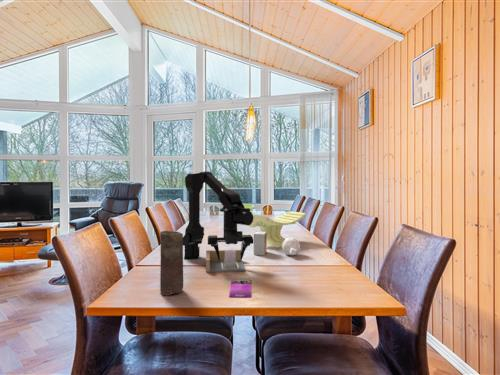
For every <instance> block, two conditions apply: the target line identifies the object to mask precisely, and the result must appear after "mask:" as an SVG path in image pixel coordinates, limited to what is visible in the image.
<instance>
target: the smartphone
mask: <svg viewBox="0 0 500 375" xmlns="http://www.w3.org/2000/svg"><path fill="white" fill-rule="evenodd" d="M230 281H231V282H230V289H229V295H228V298H235V299H236V298H238V299H239V298H242V299H243V298H246V299H247V298H248V299H249V298H251V299H252V295H253V294H252V293H253V292H252V280H251V279H232V280H230Z"/></svg>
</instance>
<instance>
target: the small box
mask: <svg viewBox="0 0 500 375" xmlns="http://www.w3.org/2000/svg"><path fill="white" fill-rule="evenodd" d="M266 253H267V232H261V231H256V232H255V233H253V255H255V256H265V255H266Z"/></svg>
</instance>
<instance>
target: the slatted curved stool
mask: <svg viewBox="0 0 500 375" xmlns="http://www.w3.org/2000/svg"><path fill="white" fill-rule="evenodd" d="M252 214H253V213H252ZM306 218H307V212H299V211H291V210H290V211H287V212H285V214H282V215H280V216H279V217H276V218H273V219H272V218H270V217H269V216H265V215H260V214H253V222H252V224H251V225H249V226H248V227H249V228H253V229H254V228H256V227H260V228H259V229H260V232H267V245H268V246H270V247H273V246H274V247H275V248H277V249H279V248H282V244H283V241H284V240H285V239H286V238H284V237H283V236H282V235H281V230H282V228H283V226H288V225H296V223H299V222H300V221H303V219H306Z"/></svg>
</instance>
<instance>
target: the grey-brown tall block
mask: <svg viewBox="0 0 500 375" xmlns="http://www.w3.org/2000/svg"><path fill="white" fill-rule="evenodd" d="M183 237H184V233H181V232H180V231H174V230H173V231H172V230H171V231H170V230H162V231H160V274H159V278H160V279H159V280H160V281H159V282H160V283H159V284H160V286H159V287H160V294H161V295H162V296H171V295H172V294H173V295H174V294H178V293H180V292H181V291H182V290H183V289H184V246H183Z"/></svg>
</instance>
